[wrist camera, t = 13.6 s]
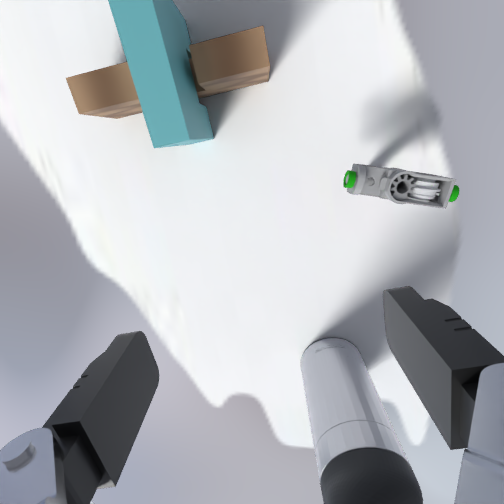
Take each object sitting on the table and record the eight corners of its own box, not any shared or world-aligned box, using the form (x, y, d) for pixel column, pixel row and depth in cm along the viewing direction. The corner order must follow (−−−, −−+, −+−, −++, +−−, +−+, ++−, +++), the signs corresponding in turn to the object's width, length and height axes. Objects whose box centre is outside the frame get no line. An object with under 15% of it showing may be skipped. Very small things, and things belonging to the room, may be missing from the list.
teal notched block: (158, 27, 33) (96, -37, 21) (185, 19, 32) (138, -50, 20) (189, 144, 37) (154, 148, 25) (214, 138, 36) (189, 139, 24)
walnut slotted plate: (262, 50, 33) (263, 25, 26) (268, 81, 34) (269, 65, 27) (107, 90, 35) (65, 78, 28) (117, 118, 36) (79, 113, 29)
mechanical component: (330, 156, 37) (353, 163, 27) (414, 168, 37) (465, 179, 28) (324, 181, 38) (345, 196, 28) (406, 192, 38) (453, 211, 29)
